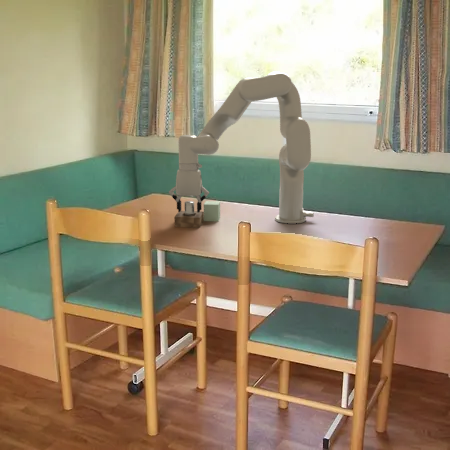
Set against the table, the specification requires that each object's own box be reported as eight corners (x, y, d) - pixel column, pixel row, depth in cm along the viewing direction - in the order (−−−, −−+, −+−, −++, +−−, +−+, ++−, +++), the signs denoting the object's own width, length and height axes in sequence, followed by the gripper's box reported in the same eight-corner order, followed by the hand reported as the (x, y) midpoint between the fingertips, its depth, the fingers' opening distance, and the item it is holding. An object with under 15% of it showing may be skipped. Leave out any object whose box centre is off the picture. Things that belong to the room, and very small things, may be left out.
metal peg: (195, 222, 255) (194, 201, 253) (193, 225, 252) (193, 203, 249) (185, 222, 256) (185, 200, 253) (184, 225, 252) (183, 202, 250)
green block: (220, 217, 264) (220, 201, 262) (218, 221, 258) (218, 204, 256) (205, 217, 264) (205, 201, 262) (203, 221, 258) (203, 204, 257)
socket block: (203, 221, 258) (203, 211, 257) (199, 227, 248) (199, 217, 247) (179, 220, 259) (179, 210, 258) (174, 226, 249) (174, 216, 248)
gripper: (212, 166, 250) (212, 209, 255) (168, 165, 252) (169, 208, 257) (209, 169, 243) (209, 214, 248) (164, 168, 245) (165, 213, 250)
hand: (189, 211), depth 252 cm, fingers open, 7 cm apart
